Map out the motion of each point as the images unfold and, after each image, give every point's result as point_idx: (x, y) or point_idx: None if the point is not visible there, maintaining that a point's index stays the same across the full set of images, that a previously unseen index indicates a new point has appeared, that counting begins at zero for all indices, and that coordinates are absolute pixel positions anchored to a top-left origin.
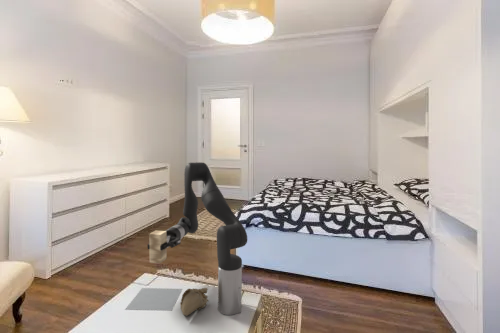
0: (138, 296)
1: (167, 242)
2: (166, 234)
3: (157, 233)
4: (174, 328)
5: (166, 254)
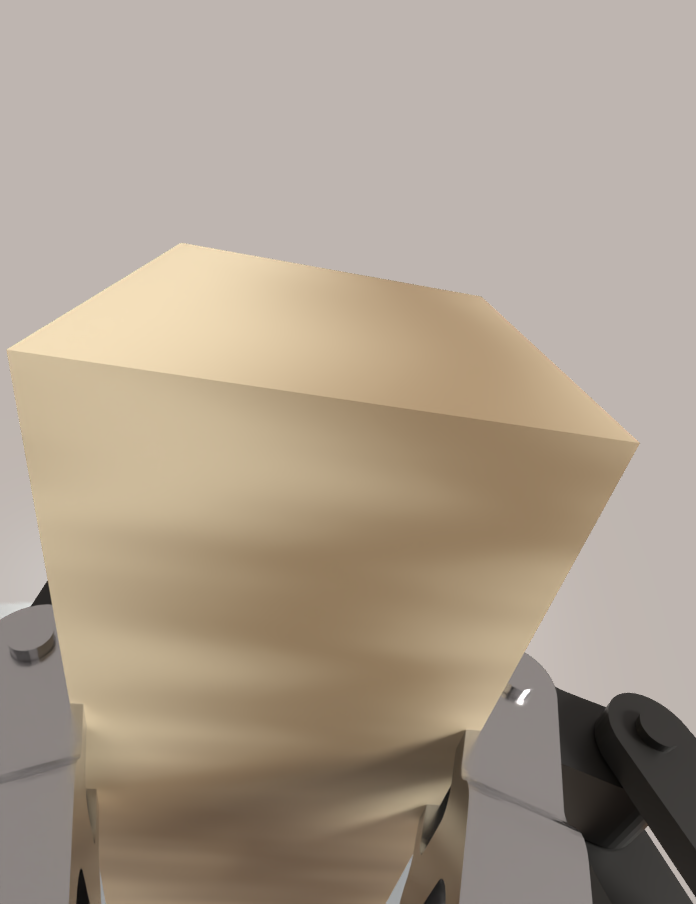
0: (395, 888)
1: (27, 617)
2: (36, 507)
3: (307, 282)
4: (26, 602)
5: (107, 898)
